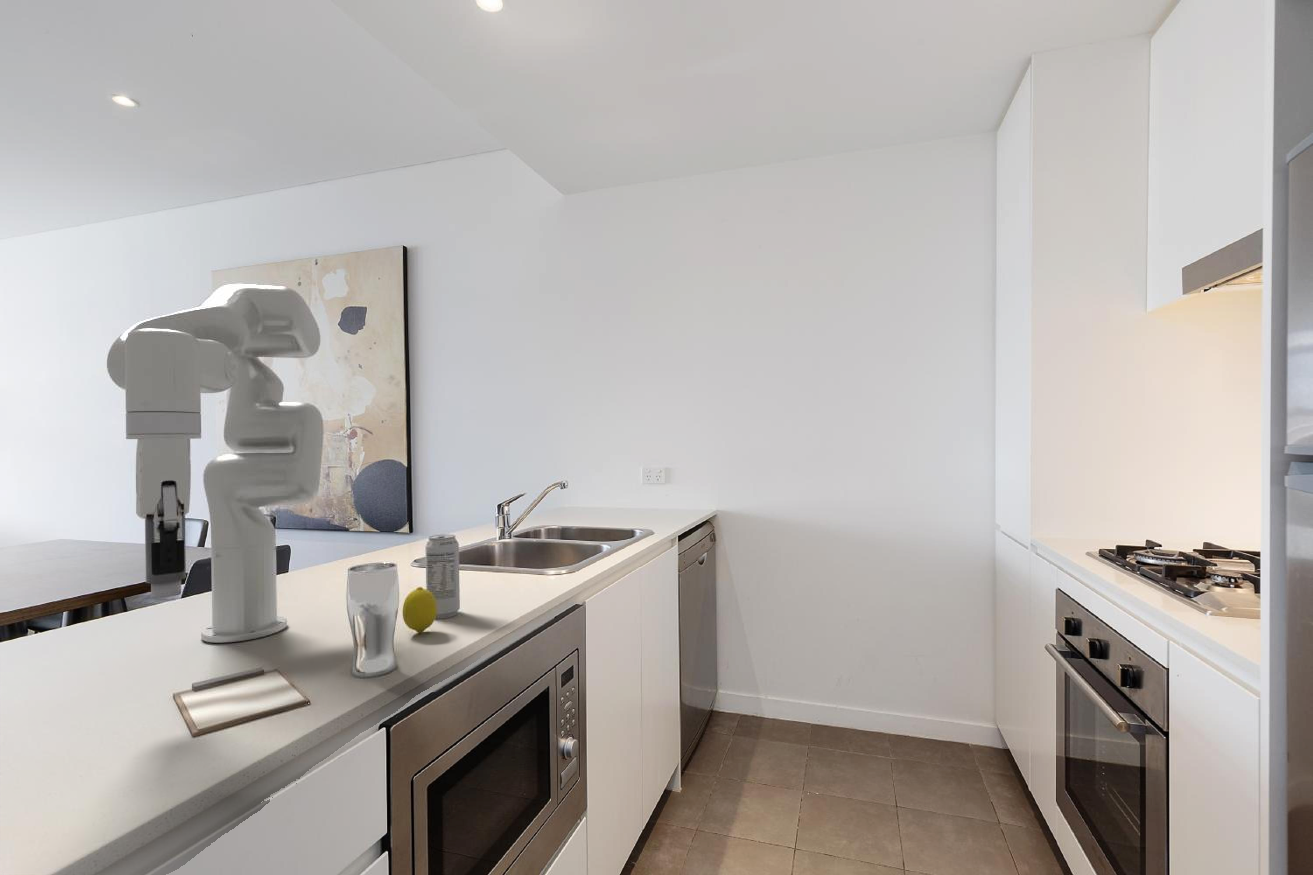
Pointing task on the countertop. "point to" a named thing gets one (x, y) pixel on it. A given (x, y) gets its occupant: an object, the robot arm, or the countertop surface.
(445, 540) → the energy drink can
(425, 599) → the lemon
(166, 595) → the grey rounded cylinder
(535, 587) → the countertop surface
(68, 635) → the countertop surface
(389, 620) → the beer glass
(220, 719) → the clipboard
